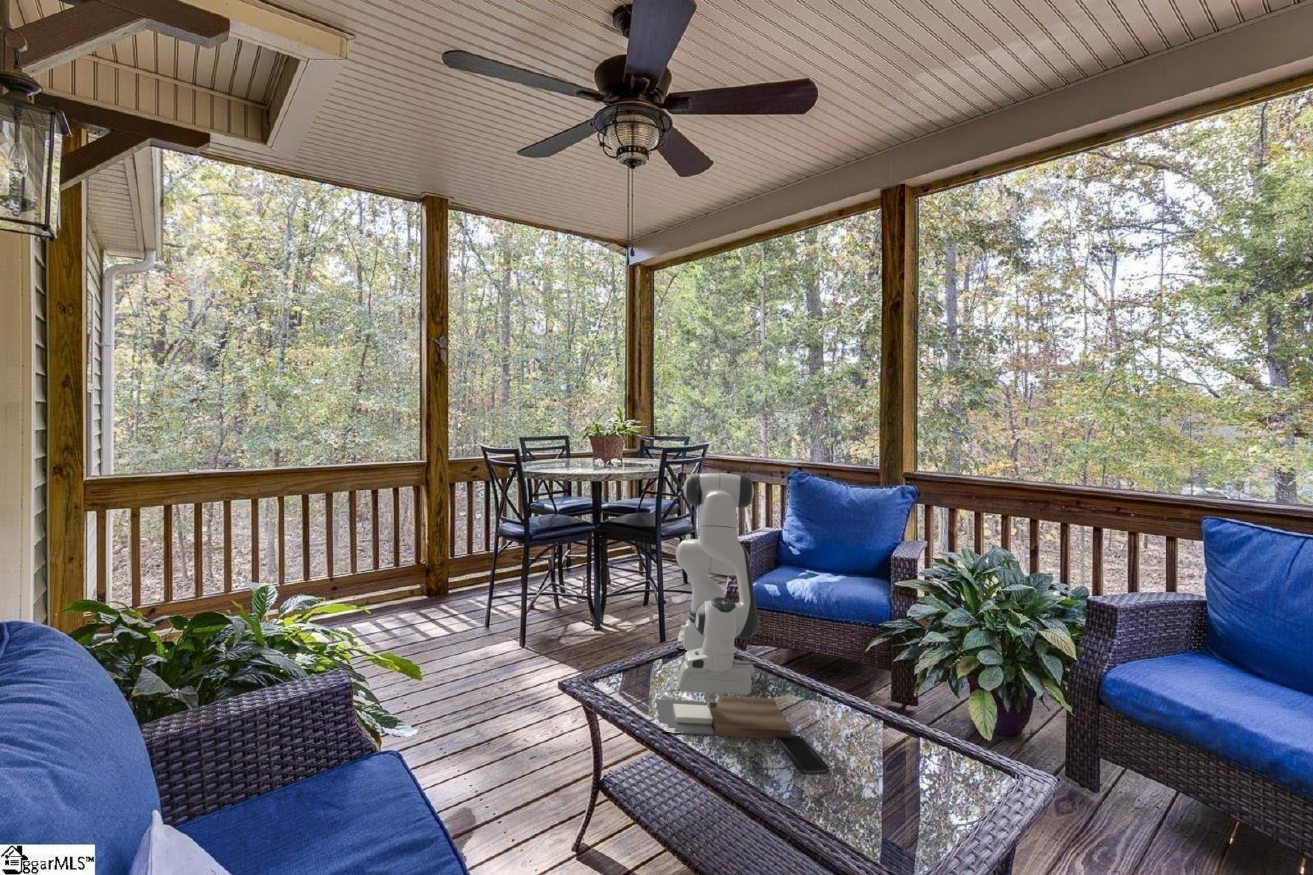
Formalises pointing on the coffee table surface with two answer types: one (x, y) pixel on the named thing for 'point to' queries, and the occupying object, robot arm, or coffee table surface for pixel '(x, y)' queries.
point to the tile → (692, 714)
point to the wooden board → (748, 718)
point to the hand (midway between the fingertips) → (712, 707)
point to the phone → (802, 755)
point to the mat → (668, 717)
